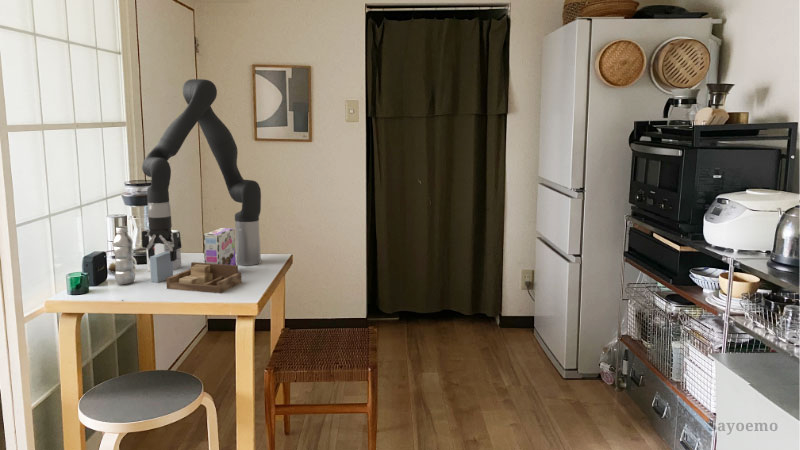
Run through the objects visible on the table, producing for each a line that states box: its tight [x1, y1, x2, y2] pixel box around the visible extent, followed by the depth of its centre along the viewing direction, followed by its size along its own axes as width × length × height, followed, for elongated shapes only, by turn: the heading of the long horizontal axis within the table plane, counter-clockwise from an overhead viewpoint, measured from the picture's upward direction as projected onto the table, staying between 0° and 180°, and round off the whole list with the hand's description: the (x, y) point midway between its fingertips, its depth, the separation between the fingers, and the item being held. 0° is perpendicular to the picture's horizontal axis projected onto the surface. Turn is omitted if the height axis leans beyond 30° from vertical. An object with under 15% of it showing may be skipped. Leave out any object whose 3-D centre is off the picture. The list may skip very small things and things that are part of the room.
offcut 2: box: [189, 264, 210, 276], centre depth 222 cm, size 4×5×3 cm
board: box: [150, 252, 174, 284], centre depth 227 cm, size 9×2×10 cm, turn 165°
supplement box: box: [145, 229, 182, 272], centre depth 244 cm, size 9×9×15 cm
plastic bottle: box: [112, 225, 136, 285], centre depth 224 cm, size 6×7×20 cm
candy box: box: [203, 227, 237, 265], centre depth 238 cm, size 14×6×16 cm, turn 168°
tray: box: [165, 261, 242, 294], centre depth 219 cm, size 14×20×7 cm
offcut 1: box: [179, 276, 199, 284], centre depth 217 cm, size 4×5×3 cm
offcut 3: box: [189, 273, 213, 285], centre depth 222 cm, size 5×6×3 cm
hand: (162, 260), depth 227 cm, fingers open, 8 cm apart
